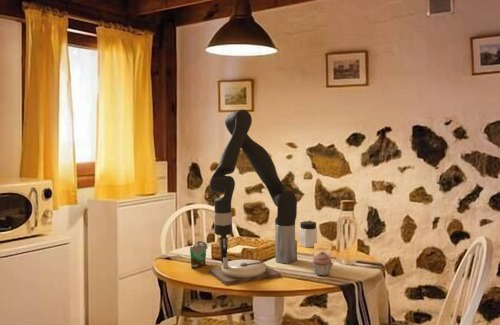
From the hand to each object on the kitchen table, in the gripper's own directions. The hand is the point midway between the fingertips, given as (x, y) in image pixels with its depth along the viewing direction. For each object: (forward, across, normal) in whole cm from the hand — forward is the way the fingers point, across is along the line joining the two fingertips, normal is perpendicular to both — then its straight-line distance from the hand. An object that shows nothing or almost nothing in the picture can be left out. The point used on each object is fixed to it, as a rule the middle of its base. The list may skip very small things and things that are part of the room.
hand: (224, 262), depth 232 cm
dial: (+4, 0, +8) cm, 9 cm away
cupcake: (+6, +4, +41) cm, 42 cm away
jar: (+6, -46, +46) cm, 65 cm away
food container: (+6, -16, -10) cm, 20 cm away
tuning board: (+6, 0, +8) cm, 10 cm away
